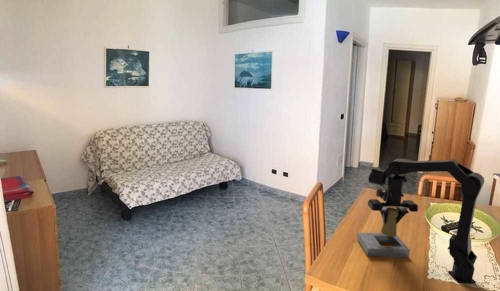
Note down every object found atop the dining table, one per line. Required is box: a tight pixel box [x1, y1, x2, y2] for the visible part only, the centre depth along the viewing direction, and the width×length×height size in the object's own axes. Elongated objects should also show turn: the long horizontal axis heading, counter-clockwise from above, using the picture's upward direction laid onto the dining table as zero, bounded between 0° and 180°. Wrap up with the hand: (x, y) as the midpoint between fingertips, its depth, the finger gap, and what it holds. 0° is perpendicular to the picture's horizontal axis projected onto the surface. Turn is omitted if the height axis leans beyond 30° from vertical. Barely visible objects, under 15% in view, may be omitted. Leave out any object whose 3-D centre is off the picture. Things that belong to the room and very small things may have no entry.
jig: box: [356, 232, 411, 258], centre depth 134 cm, size 13×17×4 cm
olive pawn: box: [380, 207, 398, 236], centre depth 132 cm, size 6×6×11 cm
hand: (389, 224), depth 132 cm, fingers closed on olive pawn, 4 cm apart
